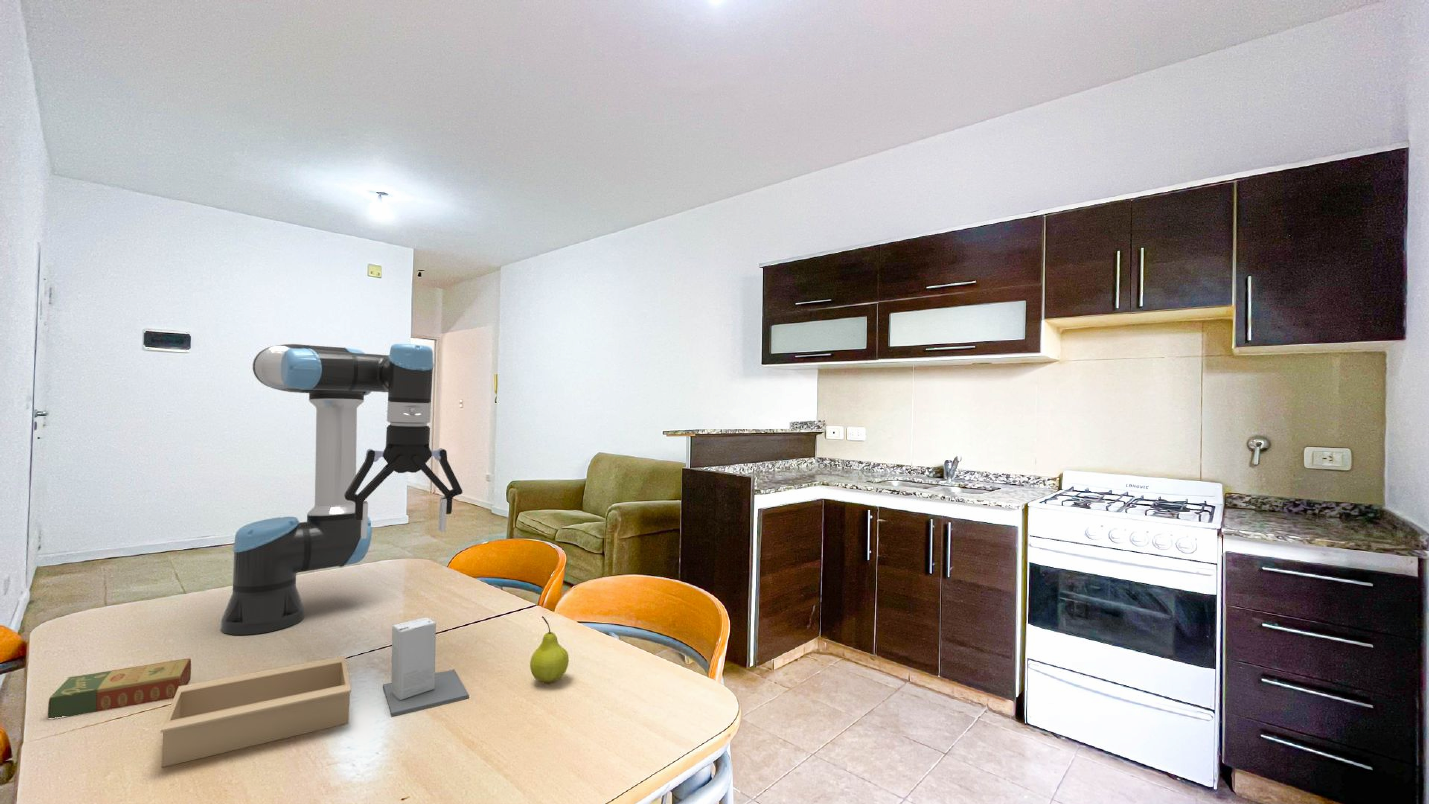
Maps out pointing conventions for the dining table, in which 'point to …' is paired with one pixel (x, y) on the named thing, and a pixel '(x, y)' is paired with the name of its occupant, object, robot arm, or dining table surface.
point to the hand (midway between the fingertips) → (404, 533)
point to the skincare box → (413, 657)
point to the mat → (429, 694)
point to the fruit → (549, 659)
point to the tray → (255, 709)
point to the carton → (119, 688)
